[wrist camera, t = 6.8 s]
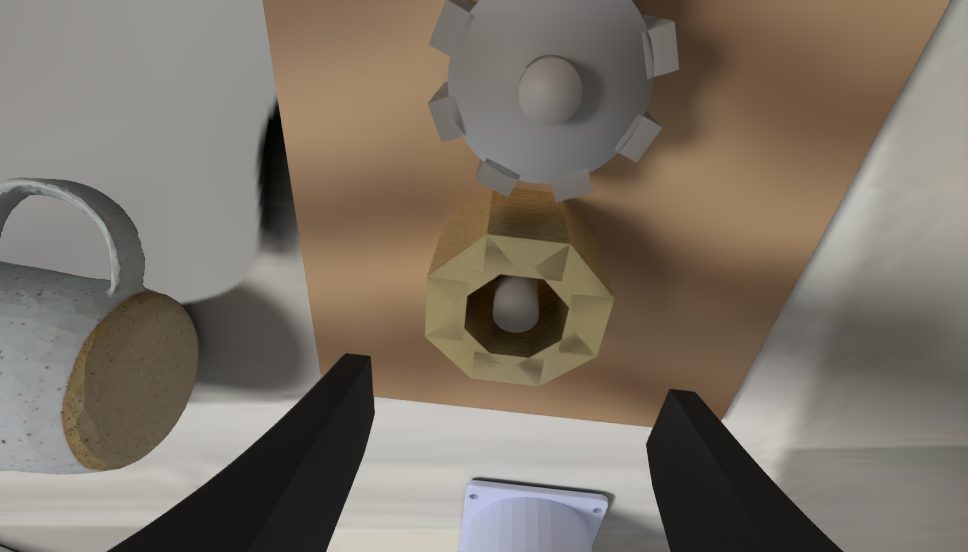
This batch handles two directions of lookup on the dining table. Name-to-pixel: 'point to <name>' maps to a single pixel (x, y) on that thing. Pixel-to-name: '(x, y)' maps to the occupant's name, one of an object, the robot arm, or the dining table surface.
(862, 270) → the dining table surface
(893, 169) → the dining table surface
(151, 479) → the dining table surface
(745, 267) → the board
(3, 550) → the supplement box
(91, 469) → the ceramic mug
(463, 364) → the wooden octagonal nut
